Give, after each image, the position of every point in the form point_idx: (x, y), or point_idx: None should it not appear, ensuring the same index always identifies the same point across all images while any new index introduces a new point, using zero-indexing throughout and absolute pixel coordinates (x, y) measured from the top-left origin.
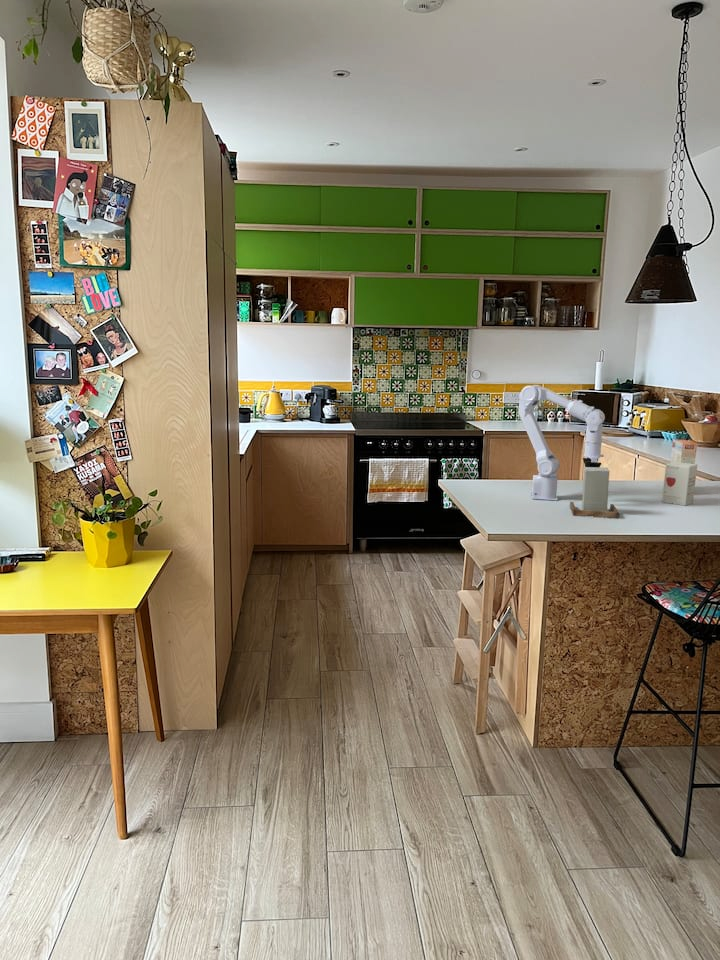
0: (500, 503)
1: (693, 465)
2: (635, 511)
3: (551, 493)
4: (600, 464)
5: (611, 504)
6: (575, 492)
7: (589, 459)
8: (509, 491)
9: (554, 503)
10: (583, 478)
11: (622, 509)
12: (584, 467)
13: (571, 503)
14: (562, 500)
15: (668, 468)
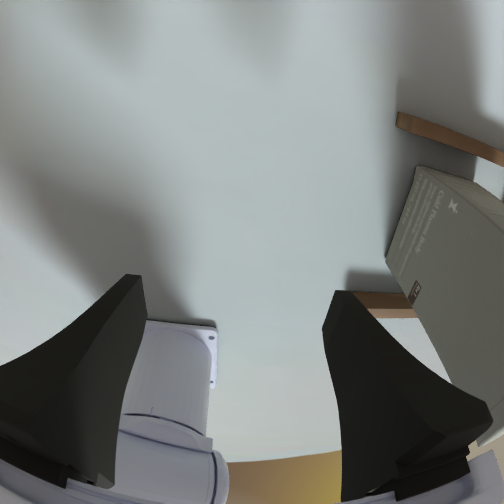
0: (292, 429)
1: None
2: (417, 8)
3: (206, 366)
4: (489, 411)
5: (418, 129)
6: (3, 224)
7: (91, 469)
8: None
9: (273, 340)
10: (458, 385)
11: (382, 51)
12: (488, 442)
13: (385, 316)
14: (198, 307)
15: None
